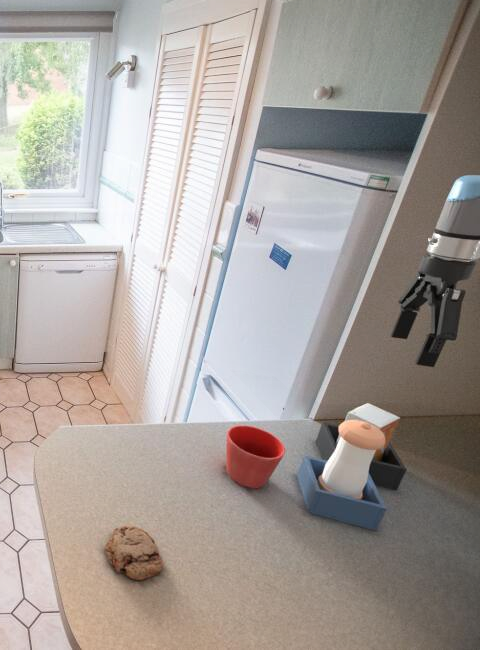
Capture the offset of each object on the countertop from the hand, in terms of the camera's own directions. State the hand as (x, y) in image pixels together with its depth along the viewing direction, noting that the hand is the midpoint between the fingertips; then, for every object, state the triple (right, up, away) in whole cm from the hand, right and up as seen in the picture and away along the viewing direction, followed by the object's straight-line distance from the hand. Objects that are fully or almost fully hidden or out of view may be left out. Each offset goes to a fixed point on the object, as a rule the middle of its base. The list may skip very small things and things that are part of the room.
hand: (410, 350), depth 98 cm
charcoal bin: (-8, -27, +6) cm, 28 cm away
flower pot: (-34, -28, +3) cm, 45 cm away
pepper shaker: (-20, -30, -4) cm, 37 cm away
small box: (-8, -26, +6) cm, 28 cm away
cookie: (-66, -36, -15) cm, 77 cm away
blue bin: (-20, -31, -4) cm, 37 cm away
